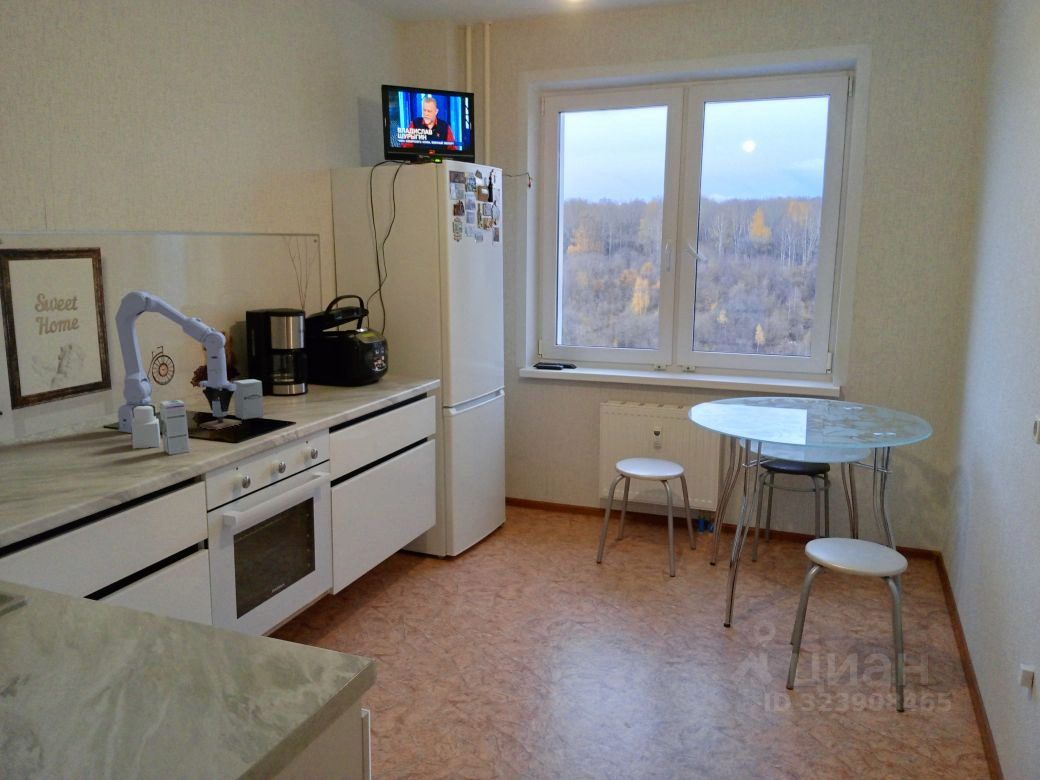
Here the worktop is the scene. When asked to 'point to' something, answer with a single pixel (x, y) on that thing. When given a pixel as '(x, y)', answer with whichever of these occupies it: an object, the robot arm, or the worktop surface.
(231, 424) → the shaft block
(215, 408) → the tube
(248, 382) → the supplement box
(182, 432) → the syrup box
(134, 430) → the medicine bottle
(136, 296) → the robot arm
